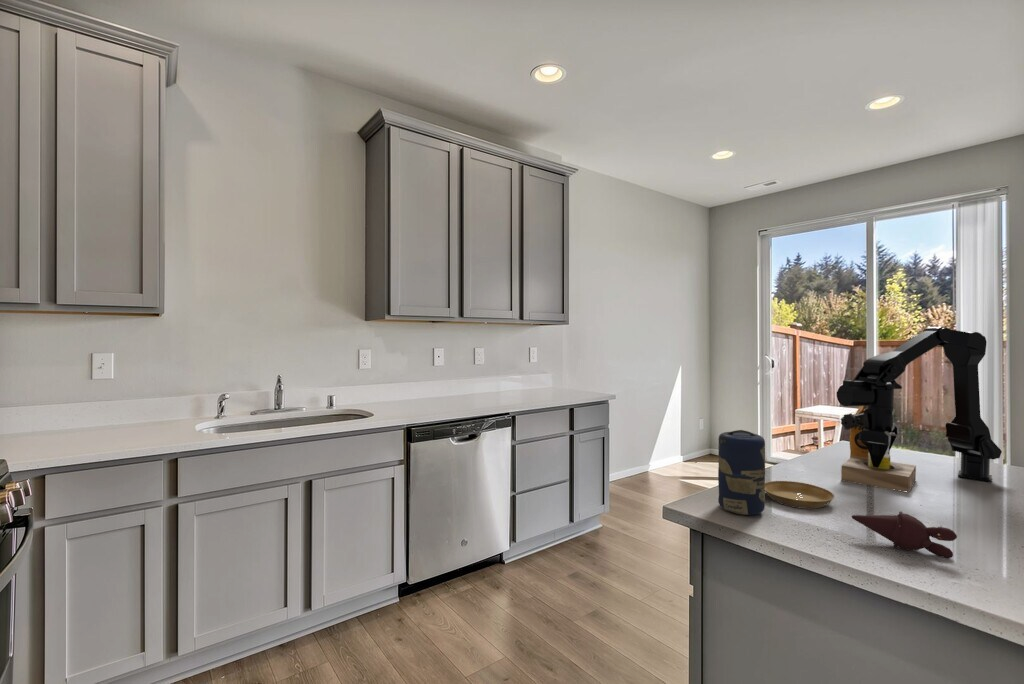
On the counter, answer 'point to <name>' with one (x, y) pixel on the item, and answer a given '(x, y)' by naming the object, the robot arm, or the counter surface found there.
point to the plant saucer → (788, 493)
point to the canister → (741, 472)
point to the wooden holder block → (879, 474)
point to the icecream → (908, 532)
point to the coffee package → (855, 444)
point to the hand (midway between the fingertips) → (878, 463)
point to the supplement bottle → (884, 463)
